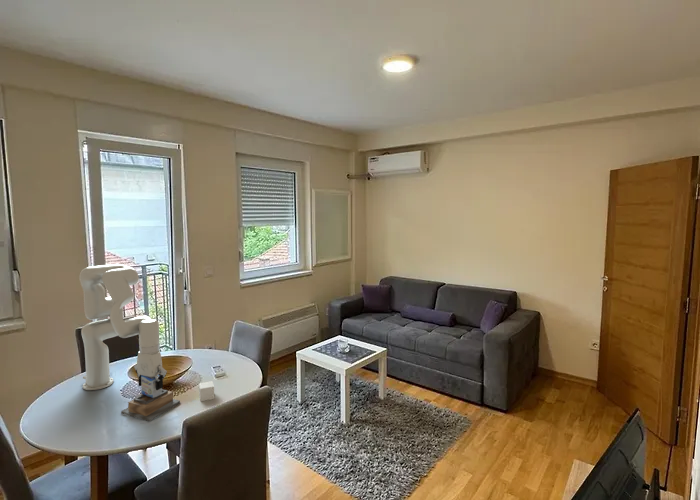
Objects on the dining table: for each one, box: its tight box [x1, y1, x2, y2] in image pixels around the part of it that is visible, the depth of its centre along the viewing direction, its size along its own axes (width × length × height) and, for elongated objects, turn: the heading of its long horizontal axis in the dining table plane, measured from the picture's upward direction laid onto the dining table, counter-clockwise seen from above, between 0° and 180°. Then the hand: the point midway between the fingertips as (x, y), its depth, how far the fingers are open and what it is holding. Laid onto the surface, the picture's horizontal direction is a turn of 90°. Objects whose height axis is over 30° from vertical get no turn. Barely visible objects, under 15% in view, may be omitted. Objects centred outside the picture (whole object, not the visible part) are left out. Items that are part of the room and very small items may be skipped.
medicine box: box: [140, 375, 163, 398], centre depth 162 cm, size 8×4×9 cm, turn 62°
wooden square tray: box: [120, 388, 181, 422], centre depth 163 cm, size 16×16×6 cm
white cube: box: [198, 380, 215, 402], centre depth 174 cm, size 6×6×6 cm
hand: (150, 386), depth 162 cm, fingers open, 9 cm apart
